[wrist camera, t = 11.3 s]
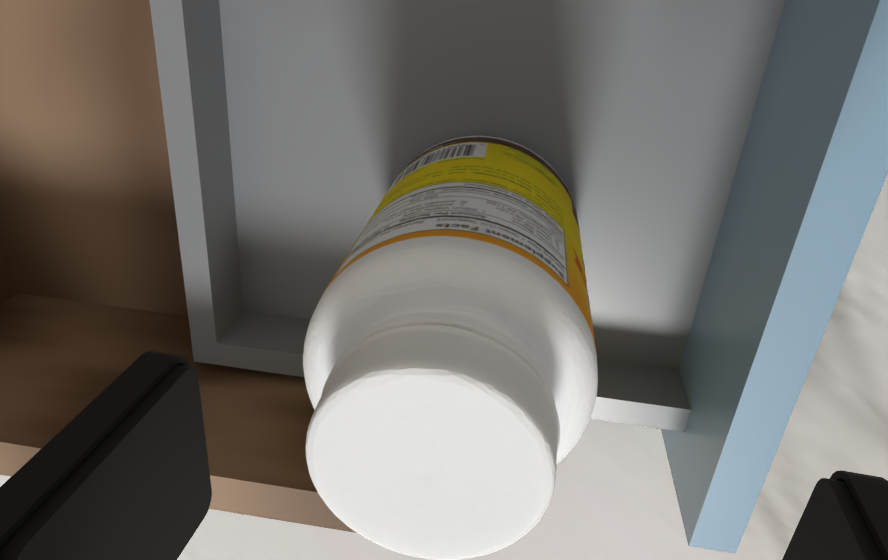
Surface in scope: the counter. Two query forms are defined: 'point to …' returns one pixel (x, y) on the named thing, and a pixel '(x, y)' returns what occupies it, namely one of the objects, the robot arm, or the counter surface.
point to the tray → (575, 160)
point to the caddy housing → (114, 256)
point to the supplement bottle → (453, 355)
